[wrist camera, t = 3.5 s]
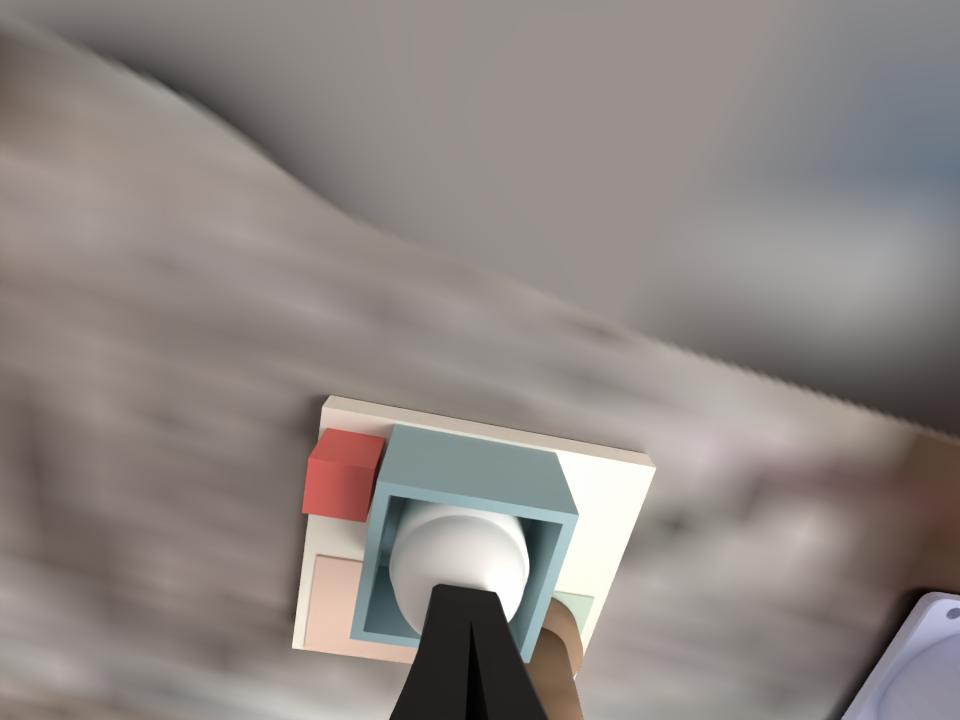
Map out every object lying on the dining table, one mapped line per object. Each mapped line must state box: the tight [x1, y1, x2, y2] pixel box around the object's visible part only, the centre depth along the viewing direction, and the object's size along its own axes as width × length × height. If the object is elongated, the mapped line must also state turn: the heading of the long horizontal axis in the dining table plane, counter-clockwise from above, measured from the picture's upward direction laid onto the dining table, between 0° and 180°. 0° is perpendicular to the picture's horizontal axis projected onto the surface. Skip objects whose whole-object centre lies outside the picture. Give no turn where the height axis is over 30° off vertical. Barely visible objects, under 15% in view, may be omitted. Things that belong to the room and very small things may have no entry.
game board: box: [292, 395, 656, 680], centre depth 14 cm, size 10×9×2 cm
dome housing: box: [349, 423, 579, 663], centre depth 12 cm, size 5×5×3 cm
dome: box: [389, 498, 529, 635], centre depth 11 cm, size 3×3×3 cm
